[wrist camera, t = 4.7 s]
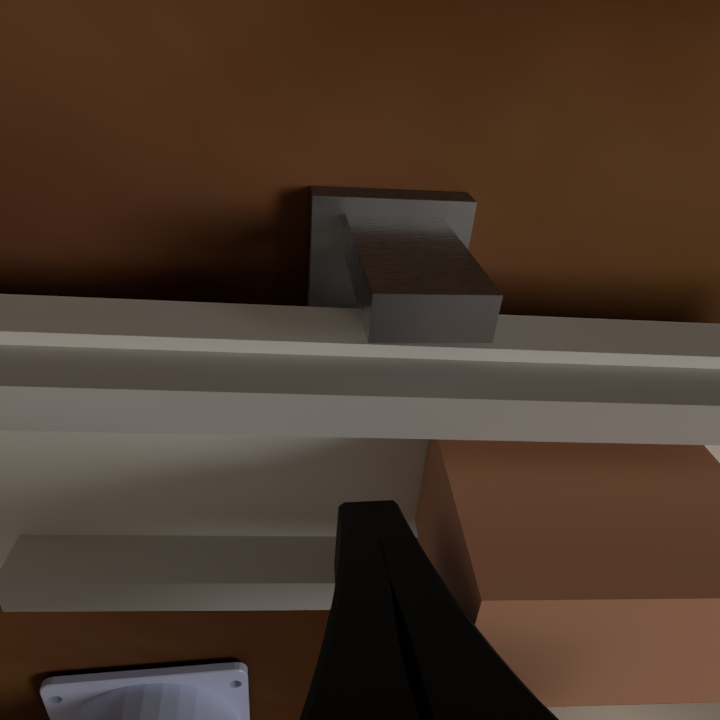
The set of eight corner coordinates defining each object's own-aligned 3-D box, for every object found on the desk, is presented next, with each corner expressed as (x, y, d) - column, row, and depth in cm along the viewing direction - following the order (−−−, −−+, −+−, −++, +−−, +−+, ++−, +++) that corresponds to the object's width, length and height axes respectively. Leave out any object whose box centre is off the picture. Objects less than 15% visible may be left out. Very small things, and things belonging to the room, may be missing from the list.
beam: (-336, 526, 15) (-592, 733, 11) (-550, 257, 11) (-1079, 415, 7) (814, 534, 18) (965, 698, 14) (962, 322, 14) (1237, 462, 10)
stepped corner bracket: (-250, 530, 17) (-422, 708, 13) (-508, 152, 12) (-968, 246, 7) (681, 491, 22) (782, 613, 18) (825, 207, 16) (1026, 285, 12)
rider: (415, 520, 15) (450, 710, 11) (432, 419, 13) (482, 600, 9) (641, 520, 15) (753, 701, 11) (685, 424, 14) (835, 597, 10)
